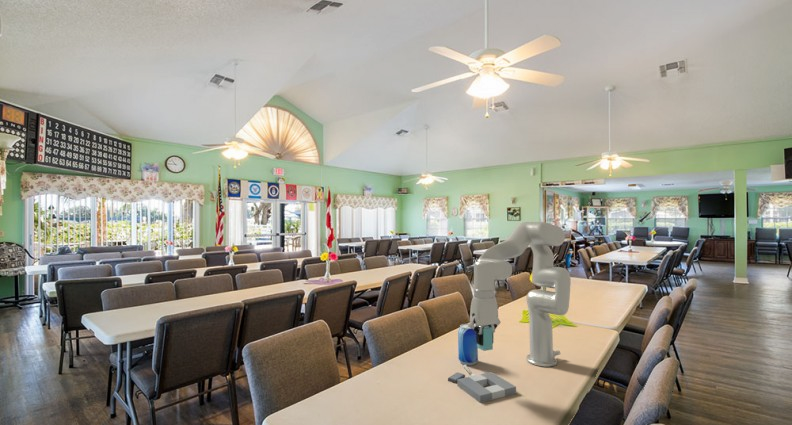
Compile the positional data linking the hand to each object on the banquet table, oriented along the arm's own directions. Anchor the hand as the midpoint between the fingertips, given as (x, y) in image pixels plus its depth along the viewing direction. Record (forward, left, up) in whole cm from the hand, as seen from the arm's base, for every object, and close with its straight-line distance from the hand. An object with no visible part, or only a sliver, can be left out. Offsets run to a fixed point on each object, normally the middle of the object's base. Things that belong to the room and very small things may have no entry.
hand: (484, 342), depth 132 cm
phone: (+5, -12, -17) cm, 21 cm away
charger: (0, 0, -2) cm, 2 cm away
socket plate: (0, 0, -17) cm, 17 cm away
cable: (-3, -15, -17) cm, 23 cm away
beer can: (-9, -24, -17) cm, 31 cm away
